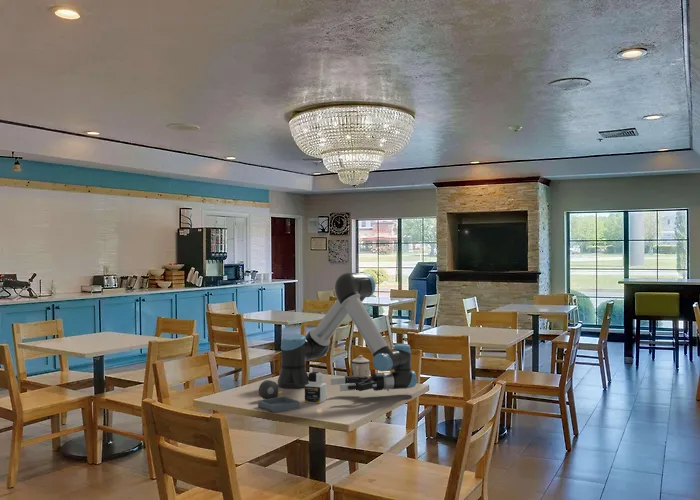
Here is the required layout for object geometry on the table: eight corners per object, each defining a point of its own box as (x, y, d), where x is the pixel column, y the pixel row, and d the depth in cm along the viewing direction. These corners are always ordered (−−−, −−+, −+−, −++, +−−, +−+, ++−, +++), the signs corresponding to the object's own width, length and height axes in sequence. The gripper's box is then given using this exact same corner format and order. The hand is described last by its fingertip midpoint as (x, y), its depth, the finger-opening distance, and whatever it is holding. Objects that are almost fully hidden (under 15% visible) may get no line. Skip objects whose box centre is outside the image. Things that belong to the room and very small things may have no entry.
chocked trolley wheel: (258, 400, 258) (258, 381, 258) (280, 396, 265) (280, 378, 265) (262, 401, 256) (262, 382, 256) (284, 397, 262) (284, 379, 262)
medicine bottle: (304, 402, 254) (304, 373, 254) (311, 398, 261) (311, 370, 261) (320, 403, 252) (320, 374, 252) (326, 400, 258) (326, 371, 258)
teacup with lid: (354, 376, 310) (354, 353, 310) (371, 377, 307) (371, 354, 308) (347, 381, 298) (347, 357, 299) (365, 382, 296) (365, 358, 296)
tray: (258, 406, 246) (258, 400, 246) (283, 402, 254) (283, 396, 254) (273, 412, 237) (273, 406, 237) (299, 408, 244) (299, 401, 244)
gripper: (392, 396, 253) (344, 399, 247) (372, 384, 277) (327, 387, 270) (392, 378, 253) (344, 381, 247) (371, 367, 277) (327, 370, 271)
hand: (335, 384), depth 259 cm, fingers open, 13 cm apart
